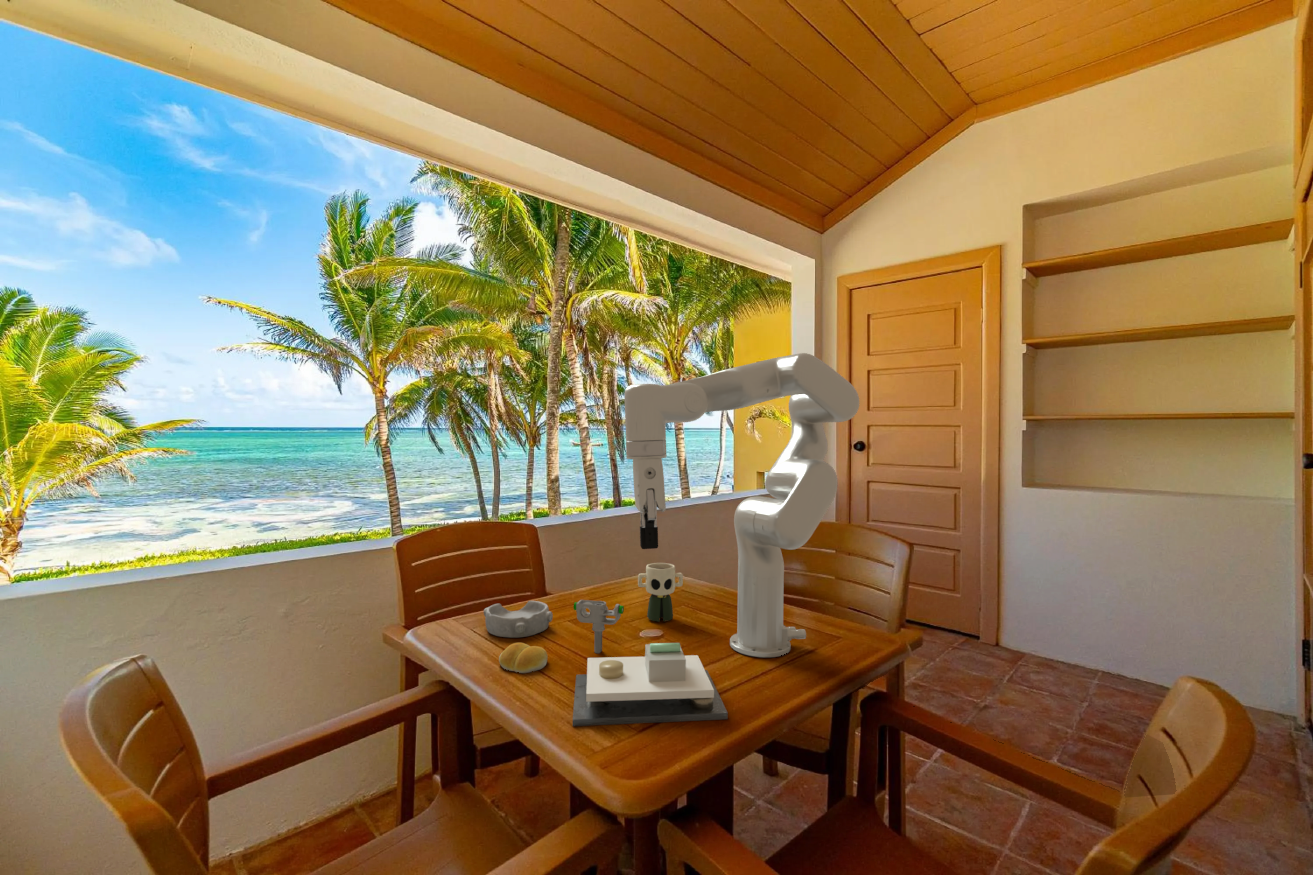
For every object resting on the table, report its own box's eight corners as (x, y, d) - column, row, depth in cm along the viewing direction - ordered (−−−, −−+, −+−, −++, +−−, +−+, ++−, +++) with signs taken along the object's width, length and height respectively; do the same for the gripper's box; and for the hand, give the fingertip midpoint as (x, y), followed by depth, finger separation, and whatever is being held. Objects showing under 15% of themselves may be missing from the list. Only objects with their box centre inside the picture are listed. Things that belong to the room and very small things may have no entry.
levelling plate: (697, 661, 101) (698, 628, 101) (713, 697, 87) (714, 658, 87) (587, 664, 99) (588, 630, 99) (586, 701, 85) (587, 661, 85)
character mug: (638, 625, 130) (639, 569, 130) (636, 615, 137) (637, 562, 137) (684, 623, 131) (685, 568, 131) (680, 614, 138) (680, 562, 138)
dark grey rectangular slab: (707, 675, 102) (707, 660, 102) (727, 719, 87) (727, 701, 87) (576, 680, 100) (576, 664, 100) (572, 726, 84) (572, 707, 84)
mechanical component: (620, 656, 111) (620, 606, 111) (571, 652, 113) (572, 603, 113) (624, 651, 114) (624, 602, 114) (576, 646, 116) (577, 599, 116)
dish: (475, 627, 127) (476, 606, 127) (530, 615, 136) (530, 595, 136) (503, 646, 116) (503, 622, 116) (561, 631, 125) (561, 609, 125)
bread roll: (532, 677, 101) (532, 655, 101) (492, 669, 104) (492, 648, 104) (556, 660, 109) (556, 640, 109) (518, 654, 112) (518, 634, 112)
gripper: (672, 451, 97) (675, 555, 97) (660, 448, 112) (663, 538, 112) (629, 452, 96) (632, 558, 96) (623, 449, 111) (626, 540, 111)
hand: (649, 547), depth 104 cm, fingers closed
